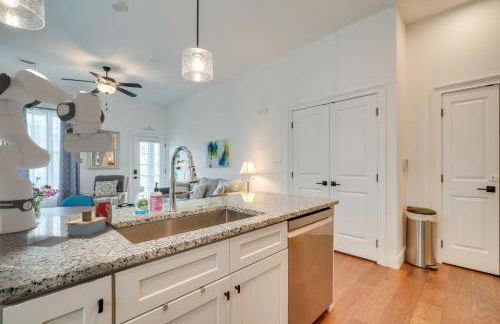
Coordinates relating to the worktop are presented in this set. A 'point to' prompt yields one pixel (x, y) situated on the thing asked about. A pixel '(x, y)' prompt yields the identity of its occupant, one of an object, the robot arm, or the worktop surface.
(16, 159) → the robot arm
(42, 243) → the mat
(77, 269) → the worktop surface
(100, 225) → the dish
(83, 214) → the lid
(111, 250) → the worktop surface
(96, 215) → the soda can
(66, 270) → the worktop surface
